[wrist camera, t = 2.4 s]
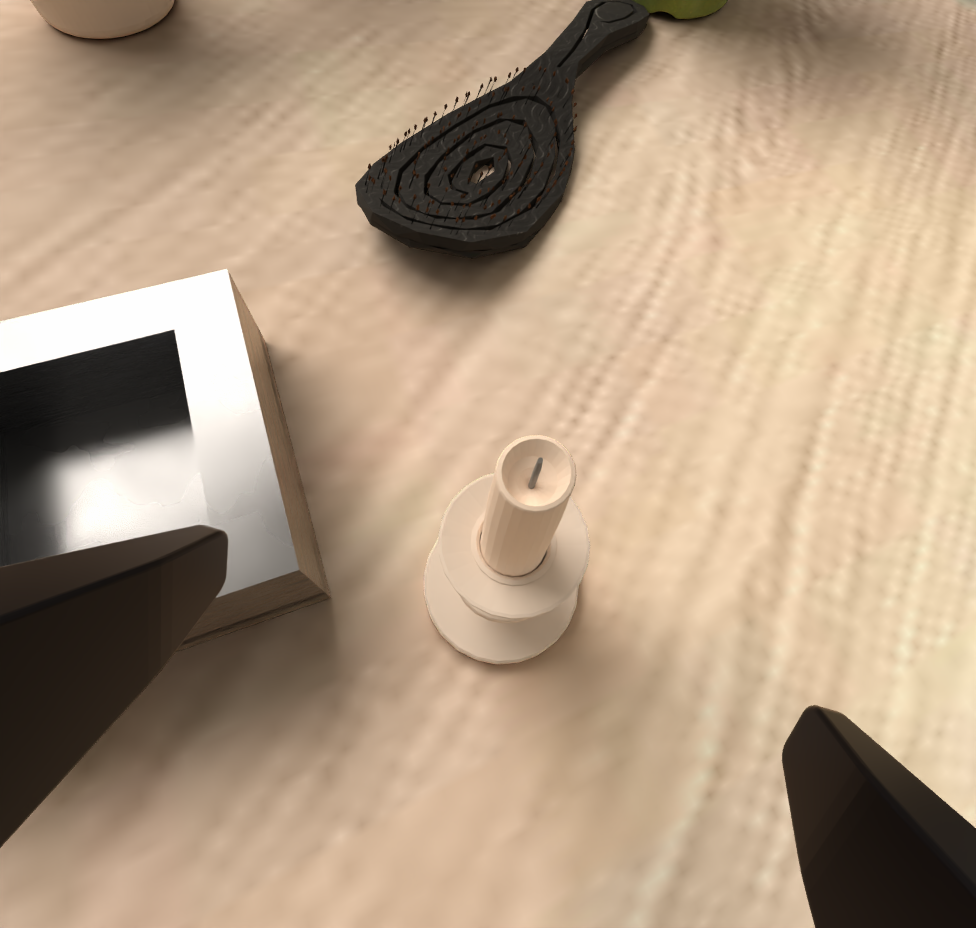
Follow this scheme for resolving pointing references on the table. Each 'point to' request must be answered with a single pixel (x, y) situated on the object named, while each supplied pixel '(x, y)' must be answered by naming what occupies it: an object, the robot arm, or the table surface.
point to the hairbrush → (495, 150)
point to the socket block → (156, 441)
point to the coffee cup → (102, 16)
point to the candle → (510, 556)
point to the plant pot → (683, 7)
